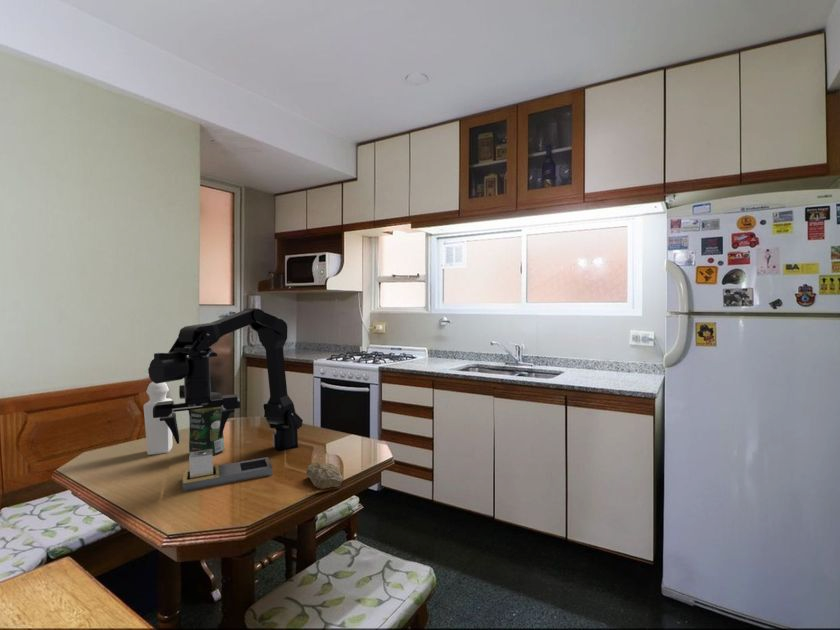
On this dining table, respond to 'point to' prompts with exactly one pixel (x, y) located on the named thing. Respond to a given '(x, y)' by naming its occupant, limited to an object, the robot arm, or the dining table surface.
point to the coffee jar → (206, 428)
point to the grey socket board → (229, 474)
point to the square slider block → (201, 463)
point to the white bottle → (156, 421)
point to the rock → (324, 475)
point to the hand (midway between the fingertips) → (199, 440)
